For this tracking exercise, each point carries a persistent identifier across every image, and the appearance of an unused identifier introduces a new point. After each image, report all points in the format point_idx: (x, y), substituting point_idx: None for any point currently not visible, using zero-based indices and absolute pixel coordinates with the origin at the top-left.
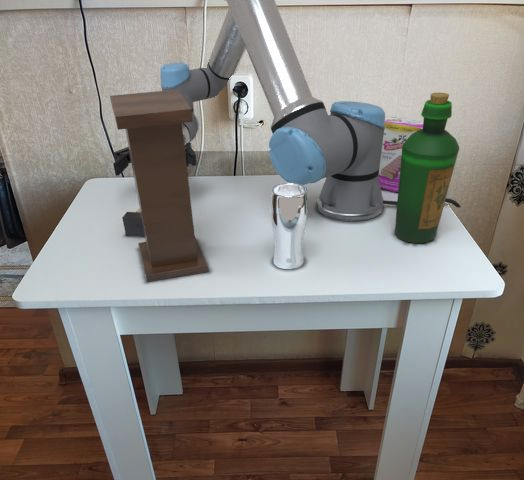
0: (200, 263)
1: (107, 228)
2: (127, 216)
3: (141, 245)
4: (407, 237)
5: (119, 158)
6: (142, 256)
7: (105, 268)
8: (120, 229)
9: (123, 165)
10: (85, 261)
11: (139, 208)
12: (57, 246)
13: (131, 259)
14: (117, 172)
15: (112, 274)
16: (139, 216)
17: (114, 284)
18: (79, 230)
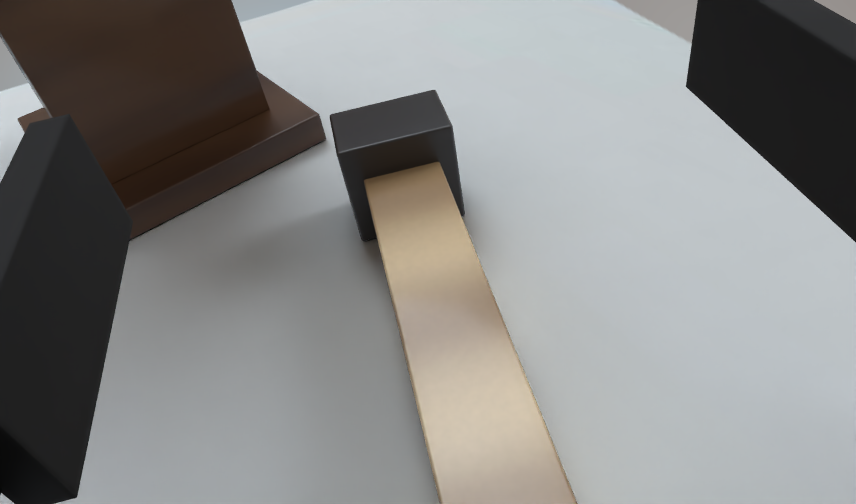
0: (41, 116)
1: (597, 188)
2: (413, 101)
3: (296, 108)
4: None
5: (841, 25)
6: (259, 76)
7: (381, 51)
8: (522, 204)
9: (796, 129)
10: (474, 46)
11: (465, 245)
12: (662, 51)
13: (323, 98)
14: (695, 56)
15: (340, 45)
16: (348, 119)
17: (309, 30)
18: (713, 134)
